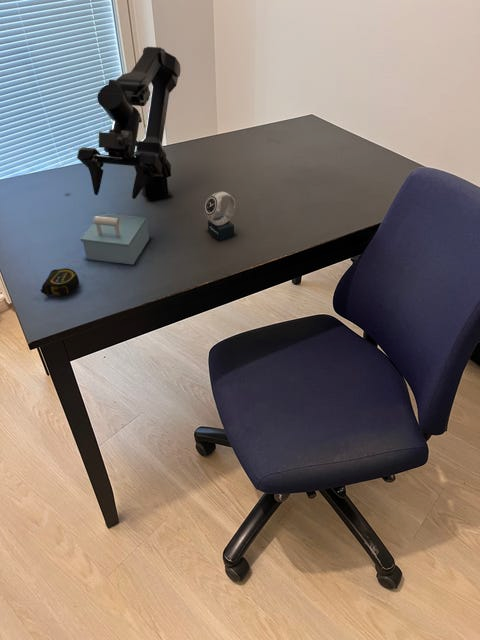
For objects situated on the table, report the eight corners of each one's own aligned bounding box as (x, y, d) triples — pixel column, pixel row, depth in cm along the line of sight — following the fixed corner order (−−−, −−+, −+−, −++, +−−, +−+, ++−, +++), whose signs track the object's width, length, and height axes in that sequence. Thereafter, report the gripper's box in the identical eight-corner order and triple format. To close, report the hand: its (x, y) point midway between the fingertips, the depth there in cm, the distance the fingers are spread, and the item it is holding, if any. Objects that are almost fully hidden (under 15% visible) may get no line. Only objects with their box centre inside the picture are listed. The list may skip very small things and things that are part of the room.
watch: (201, 233, 123) (200, 193, 116) (227, 224, 126) (227, 185, 119) (213, 243, 120) (212, 203, 112) (239, 233, 123) (240, 194, 116)
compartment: (133, 264, 112) (130, 245, 108) (86, 259, 113) (82, 239, 110) (149, 239, 120) (146, 220, 117) (105, 234, 122) (102, 215, 118)
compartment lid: (128, 247, 108) (125, 227, 104) (80, 241, 109) (76, 221, 106) (146, 220, 117) (144, 201, 114) (102, 215, 118) (98, 196, 115)
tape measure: (55, 279, 107) (51, 265, 105) (85, 281, 107) (81, 267, 104) (43, 298, 102) (38, 284, 99) (74, 300, 101) (70, 286, 99)
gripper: (71, 110, 105) (59, 179, 104) (153, 117, 102) (141, 188, 101) (93, 134, 116) (82, 197, 115) (167, 141, 113) (157, 204, 112)
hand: (114, 196), depth 110 cm, fingers open, 9 cm apart
